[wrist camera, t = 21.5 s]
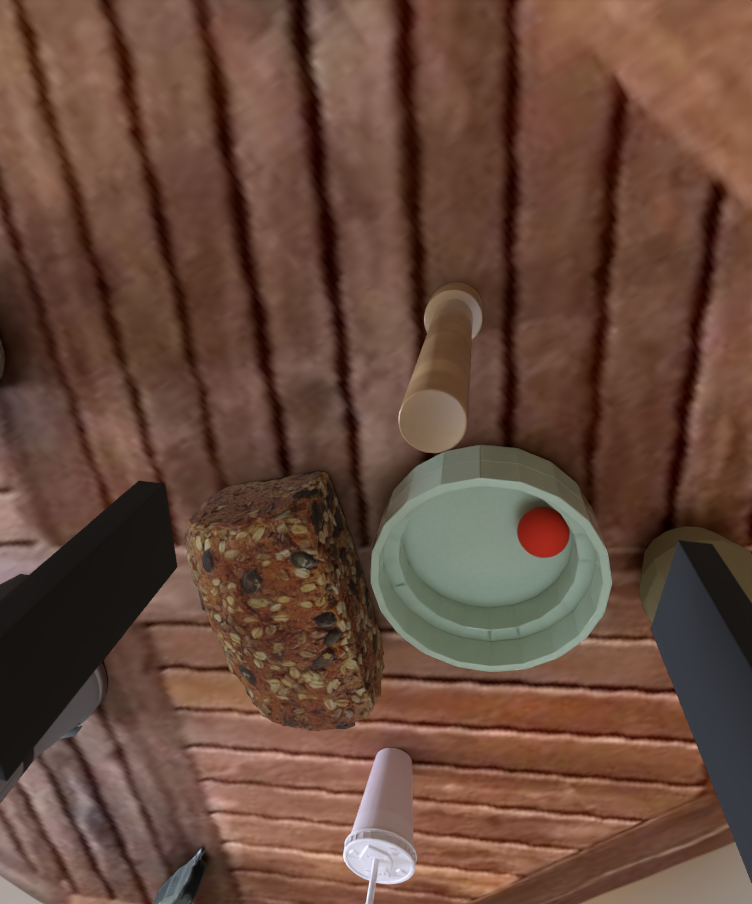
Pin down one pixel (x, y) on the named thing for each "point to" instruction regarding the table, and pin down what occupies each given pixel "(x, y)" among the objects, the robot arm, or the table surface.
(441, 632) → the bowl
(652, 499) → the table surface
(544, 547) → the cherry tomato
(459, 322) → the muddler
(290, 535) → the bread
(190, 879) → the dark grey tapered piece
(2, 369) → the teapot
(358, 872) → the smoothie
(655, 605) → the squeeze bottle
